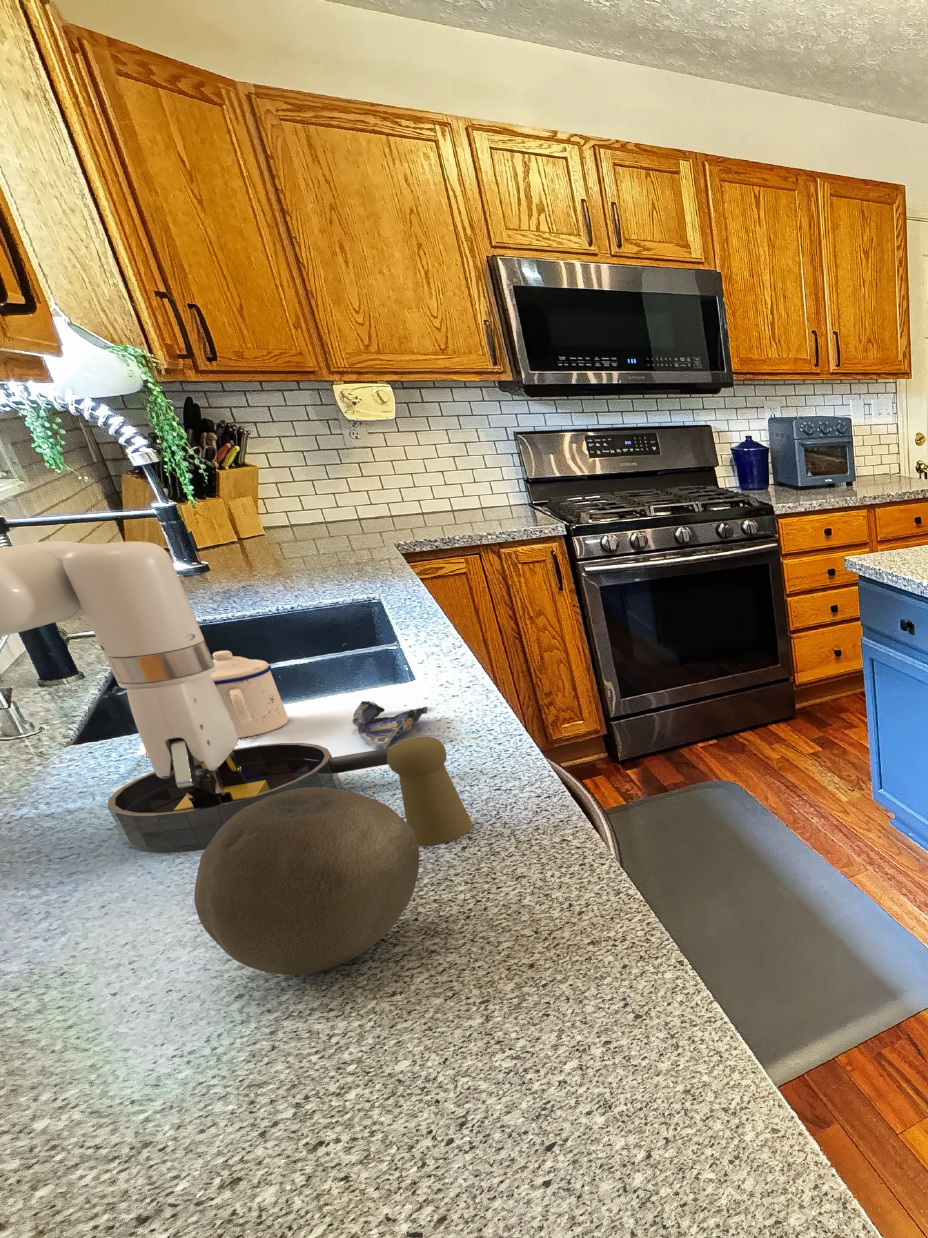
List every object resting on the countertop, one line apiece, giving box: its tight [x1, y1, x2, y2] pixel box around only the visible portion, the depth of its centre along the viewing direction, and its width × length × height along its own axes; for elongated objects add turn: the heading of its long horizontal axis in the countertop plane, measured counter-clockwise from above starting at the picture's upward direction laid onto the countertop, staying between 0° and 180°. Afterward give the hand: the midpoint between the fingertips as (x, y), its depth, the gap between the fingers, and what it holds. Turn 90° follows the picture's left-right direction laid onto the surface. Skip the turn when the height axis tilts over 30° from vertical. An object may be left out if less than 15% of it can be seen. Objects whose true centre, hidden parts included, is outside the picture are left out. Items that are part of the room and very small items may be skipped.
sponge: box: [174, 780, 270, 811], centre depth 91 cm, size 7×4×3 cm, turn 119°
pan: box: [107, 742, 343, 853], centre depth 93 cm, size 19×19×4 cm
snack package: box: [351, 700, 428, 749], centre depth 115 cm, size 12×6×12 cm
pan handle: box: [329, 747, 390, 774], centre depth 99 cm, size 12×2×2 cm, turn 119°
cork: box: [387, 735, 474, 847], centre depth 87 cm, size 6×6×11 cm
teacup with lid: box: [210, 650, 289, 739], centre depth 115 cm, size 12×9×12 cm
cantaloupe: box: [193, 787, 420, 976], centre depth 67 cm, size 14×14×15 cm
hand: (230, 816), depth 91 cm, fingers closed on sponge, 4 cm apart
